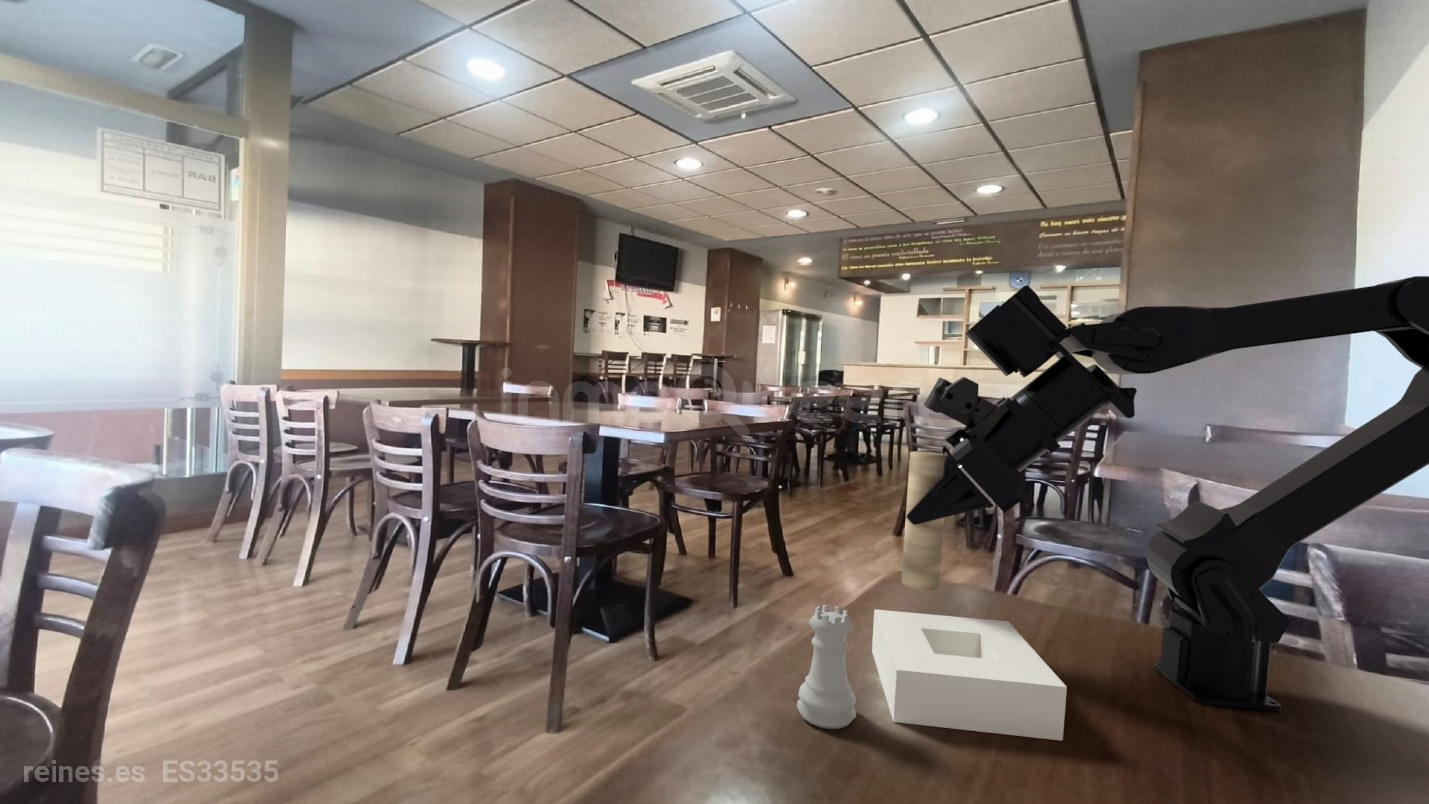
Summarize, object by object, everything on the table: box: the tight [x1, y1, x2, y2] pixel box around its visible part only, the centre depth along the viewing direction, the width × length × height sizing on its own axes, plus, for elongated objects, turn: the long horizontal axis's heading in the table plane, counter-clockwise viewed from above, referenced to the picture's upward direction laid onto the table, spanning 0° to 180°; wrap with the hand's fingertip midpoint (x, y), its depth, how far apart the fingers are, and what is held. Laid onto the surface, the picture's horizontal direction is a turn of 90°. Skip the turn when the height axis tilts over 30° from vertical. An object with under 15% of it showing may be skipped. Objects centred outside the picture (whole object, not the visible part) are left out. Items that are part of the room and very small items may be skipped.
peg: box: [901, 450, 945, 591], centre depth 61 cm, size 4×4×13 cm
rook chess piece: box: [796, 604, 857, 730], centre depth 47 cm, size 4×4×8 cm
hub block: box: [871, 609, 1068, 741], centre depth 51 cm, size 12×12×4 cm
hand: (910, 516), depth 61 cm, fingers closed on peg, 4 cm apart
